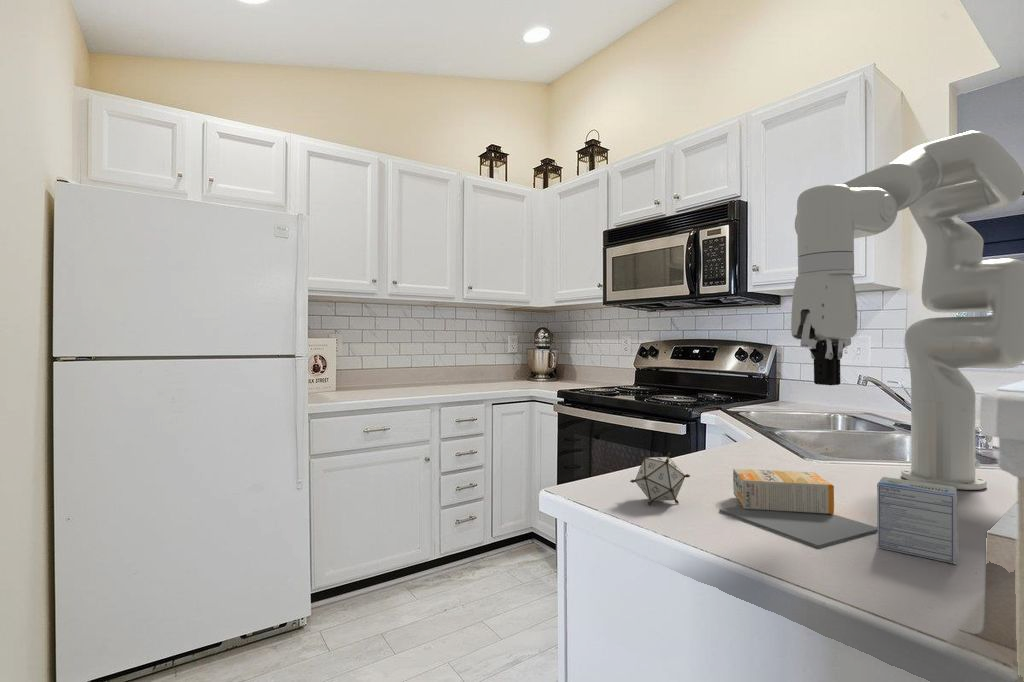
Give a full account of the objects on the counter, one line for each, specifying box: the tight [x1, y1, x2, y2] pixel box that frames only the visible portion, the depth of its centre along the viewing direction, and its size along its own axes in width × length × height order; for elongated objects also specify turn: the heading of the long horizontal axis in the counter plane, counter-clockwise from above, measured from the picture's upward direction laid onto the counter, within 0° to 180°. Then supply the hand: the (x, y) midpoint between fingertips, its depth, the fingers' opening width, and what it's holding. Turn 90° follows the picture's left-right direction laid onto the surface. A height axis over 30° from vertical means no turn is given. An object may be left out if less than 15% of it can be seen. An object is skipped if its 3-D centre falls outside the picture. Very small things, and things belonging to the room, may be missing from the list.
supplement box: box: [732, 467, 835, 514], centre depth 84 cm, size 8×5×13 cm
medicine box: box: [876, 476, 958, 565], centre depth 66 cm, size 8×4×9 cm, turn 48°
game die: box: [629, 452, 691, 506], centre depth 86 cm, size 9×8×10 cm
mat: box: [718, 504, 878, 549], centre depth 77 cm, size 14×16×1 cm
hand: (827, 384), depth 81 cm, fingers closed
